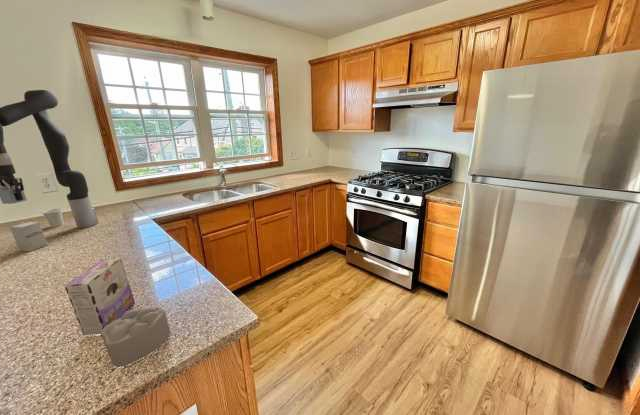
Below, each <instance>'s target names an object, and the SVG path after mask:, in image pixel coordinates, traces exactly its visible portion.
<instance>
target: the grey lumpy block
mask: <svg viewBox="0 0 640 415" xmlns="http://www.w3.org/2000/svg"><path fill="white" fill-rule="evenodd" d="M169 334H171V329H170V326H169V323H168V320H167V316H166V312H165V309H164V308H163V307H160V306H153V307H151V306H150V307H146V308H140V309H138V310H137V309H129V310H128V311H127V312H125V313H124V314H123V315H122V317H121V318H119V319H117V320H115V321H113V322H111V323H110V324H108V325H107V326H106V327H104V328H103V330H102V331H101V336H100V337H101V338H102V341H103V345H104V346H105V349H106V351H107V352H106V353H107V354H108V357H109V356H110V357H111V358H110V357H109V358H110V359H111V362H112V365H114V366H116V367H120V366H121V367H122V366H126V365H128V364H130V363H133V362H134V361H137V360H139V359H141V358H143V357H145V356H147V355H148V354H150V353H151V352H153V351H155V350H156V349H158V348H159V347H160V346H161V345H162V344H163V343H164V342H165V340H166V339H167V338H168V339H169V337H170V335H169ZM168 336H169V337H168ZM168 339H167V340H168ZM167 340H166V341H167ZM165 343H166V342H165ZM165 343H164V344H165ZM164 344H163V345H164ZM163 345H162V346H163ZM162 346H161V347H162ZM161 347H160V348H161ZM160 348H159V349H160ZM159 349H158V350H159ZM155 352H156V351H155ZM147 357H148V356H147ZM114 366H113V367H114Z"/></svg>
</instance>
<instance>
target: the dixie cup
mask: <svg viewBox="0 0 640 415" xmlns="http://www.w3.org/2000/svg"><path fill="white" fill-rule="evenodd" d="M42 214H43V217H44V218H45V219H46V221H47V223H48V224H49V225H50V228H51V227H52V228H53V229H55V228H59V226H60V227H62V225H63V226H64V225H65V224H64V218H63V212H62V208H51V209H48V210H43V211H42ZM54 227H55V228H54Z"/></svg>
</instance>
